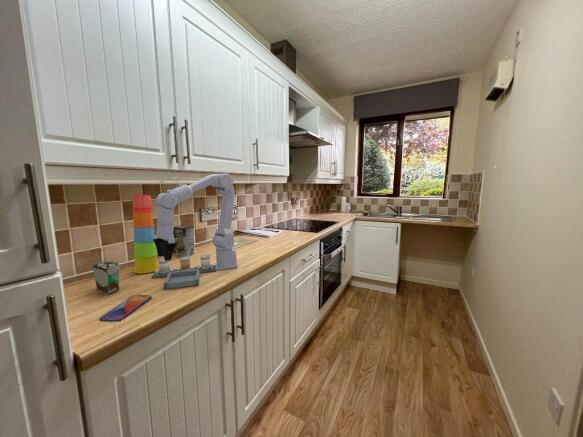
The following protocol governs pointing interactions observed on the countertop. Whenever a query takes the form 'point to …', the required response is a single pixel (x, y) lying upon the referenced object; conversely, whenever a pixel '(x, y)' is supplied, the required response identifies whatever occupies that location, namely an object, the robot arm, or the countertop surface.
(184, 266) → the marked fuse
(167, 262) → the ball
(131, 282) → the countertop surface
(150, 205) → the stacking cups
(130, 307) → the smartphone
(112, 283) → the food container
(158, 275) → the board
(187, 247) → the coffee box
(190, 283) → the tray
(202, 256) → the cylinder
